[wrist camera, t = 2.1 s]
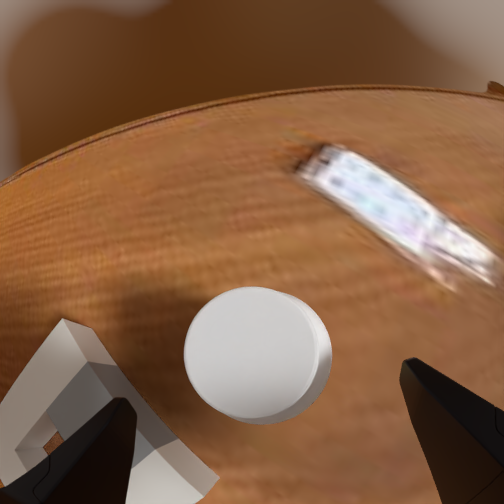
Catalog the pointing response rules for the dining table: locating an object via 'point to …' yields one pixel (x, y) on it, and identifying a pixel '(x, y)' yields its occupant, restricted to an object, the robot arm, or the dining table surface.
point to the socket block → (84, 408)
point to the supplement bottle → (258, 355)
